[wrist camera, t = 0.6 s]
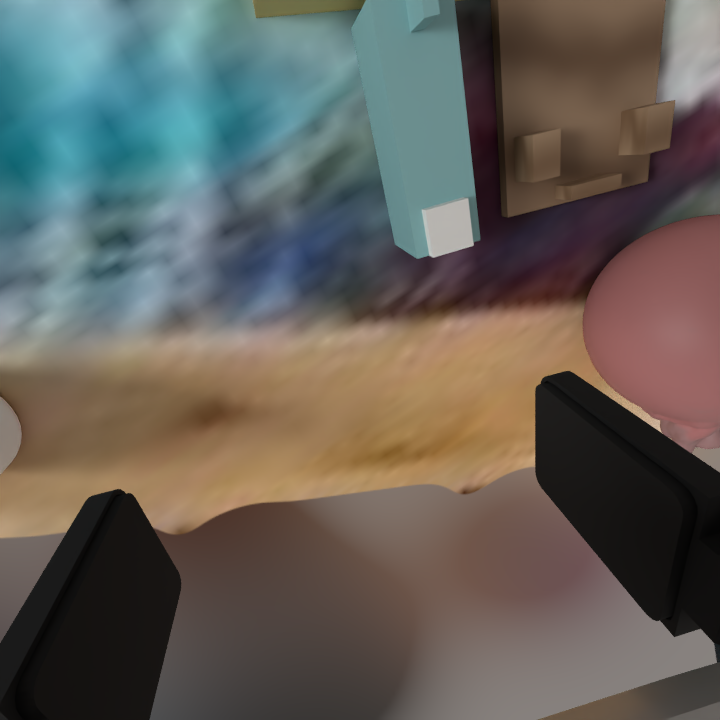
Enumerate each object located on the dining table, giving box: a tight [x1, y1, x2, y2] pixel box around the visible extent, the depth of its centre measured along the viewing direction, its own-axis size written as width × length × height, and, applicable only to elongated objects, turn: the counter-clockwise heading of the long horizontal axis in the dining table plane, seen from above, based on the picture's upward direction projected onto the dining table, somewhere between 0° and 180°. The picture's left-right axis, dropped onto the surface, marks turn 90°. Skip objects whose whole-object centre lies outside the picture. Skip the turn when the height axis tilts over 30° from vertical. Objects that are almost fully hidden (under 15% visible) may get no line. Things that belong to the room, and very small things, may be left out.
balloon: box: [583, 215, 720, 453], centre depth 32 cm, size 15×20×15 cm
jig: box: [491, 0, 675, 218], centre depth 27 cm, size 20×12×4 cm, turn 12°
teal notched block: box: [351, 0, 480, 259], centre depth 26 cm, size 14×4×8 cm, turn 14°
